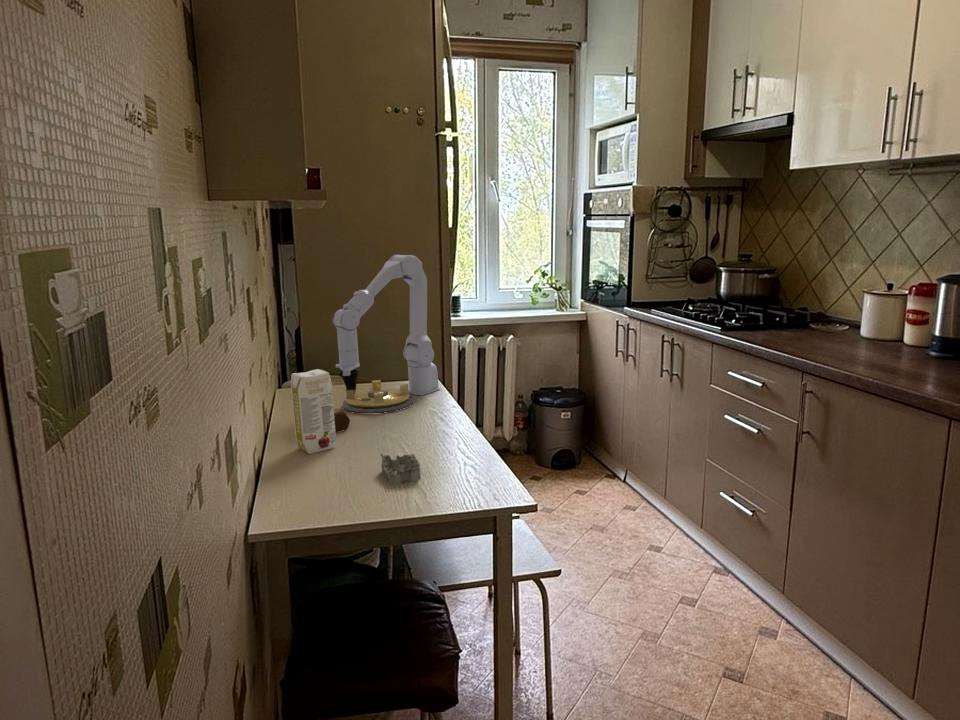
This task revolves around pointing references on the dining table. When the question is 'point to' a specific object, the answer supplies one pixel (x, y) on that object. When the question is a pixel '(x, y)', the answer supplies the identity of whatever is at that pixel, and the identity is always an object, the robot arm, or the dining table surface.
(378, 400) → the round tray
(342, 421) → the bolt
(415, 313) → the robot arm
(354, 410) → the grey plate
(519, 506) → the dining table surface
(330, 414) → the juice carton
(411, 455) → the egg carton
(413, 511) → the dining table surface
